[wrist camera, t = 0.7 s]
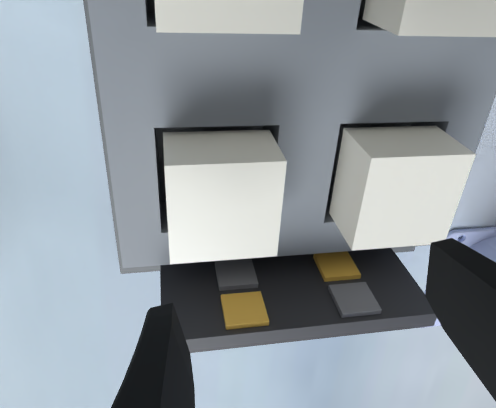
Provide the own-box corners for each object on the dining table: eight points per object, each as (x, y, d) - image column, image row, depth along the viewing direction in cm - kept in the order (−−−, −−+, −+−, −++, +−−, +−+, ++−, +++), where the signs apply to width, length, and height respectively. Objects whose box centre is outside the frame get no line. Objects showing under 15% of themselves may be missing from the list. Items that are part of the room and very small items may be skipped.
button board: (526, -171, 16) (715, -219, 11) (405, 240, 26) (472, 324, 20) (58, -222, 13) (-10, -322, 8) (121, 261, 23) (112, 364, 18)
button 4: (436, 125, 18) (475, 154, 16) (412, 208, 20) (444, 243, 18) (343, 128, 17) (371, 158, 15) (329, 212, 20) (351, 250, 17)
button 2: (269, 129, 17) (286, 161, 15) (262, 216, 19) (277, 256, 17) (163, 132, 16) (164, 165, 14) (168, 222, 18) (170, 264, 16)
